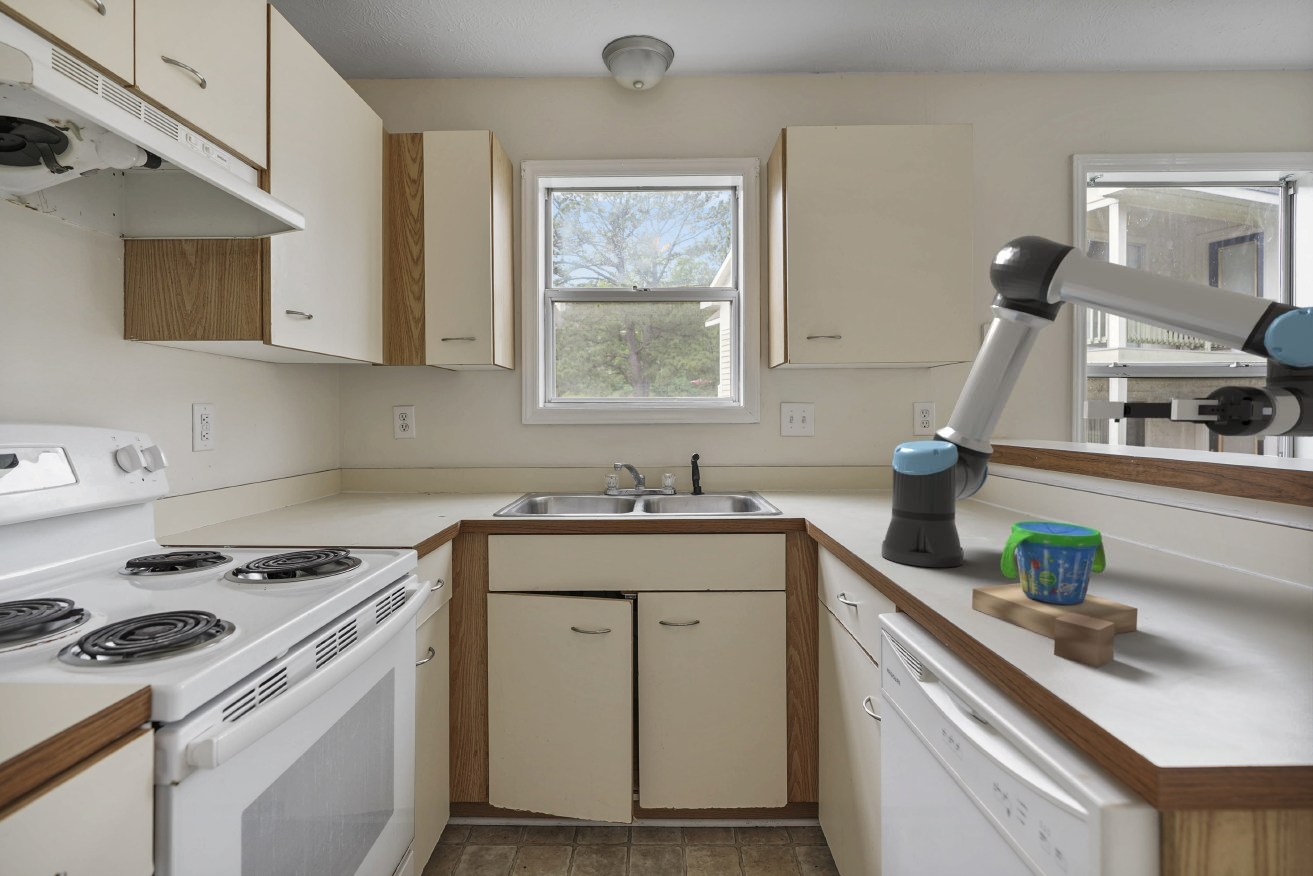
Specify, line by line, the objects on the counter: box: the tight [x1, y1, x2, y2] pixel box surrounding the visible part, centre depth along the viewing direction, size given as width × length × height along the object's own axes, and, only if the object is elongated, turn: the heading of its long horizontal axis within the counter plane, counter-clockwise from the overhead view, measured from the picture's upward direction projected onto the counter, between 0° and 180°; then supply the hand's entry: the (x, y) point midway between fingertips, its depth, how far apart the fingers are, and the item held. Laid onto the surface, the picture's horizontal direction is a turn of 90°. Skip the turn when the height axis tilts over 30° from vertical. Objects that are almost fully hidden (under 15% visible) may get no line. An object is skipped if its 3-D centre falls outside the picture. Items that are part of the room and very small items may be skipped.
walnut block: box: [1053, 612, 1115, 669], centre depth 72 cm, size 4×4×4 cm
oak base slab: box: [971, 582, 1139, 640], centre depth 86 cm, size 14×14×3 cm
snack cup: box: [1000, 520, 1107, 605], centre depth 85 cm, size 16×10×10 cm
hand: (1126, 409), depth 87 cm, fingers open, 13 cm apart
